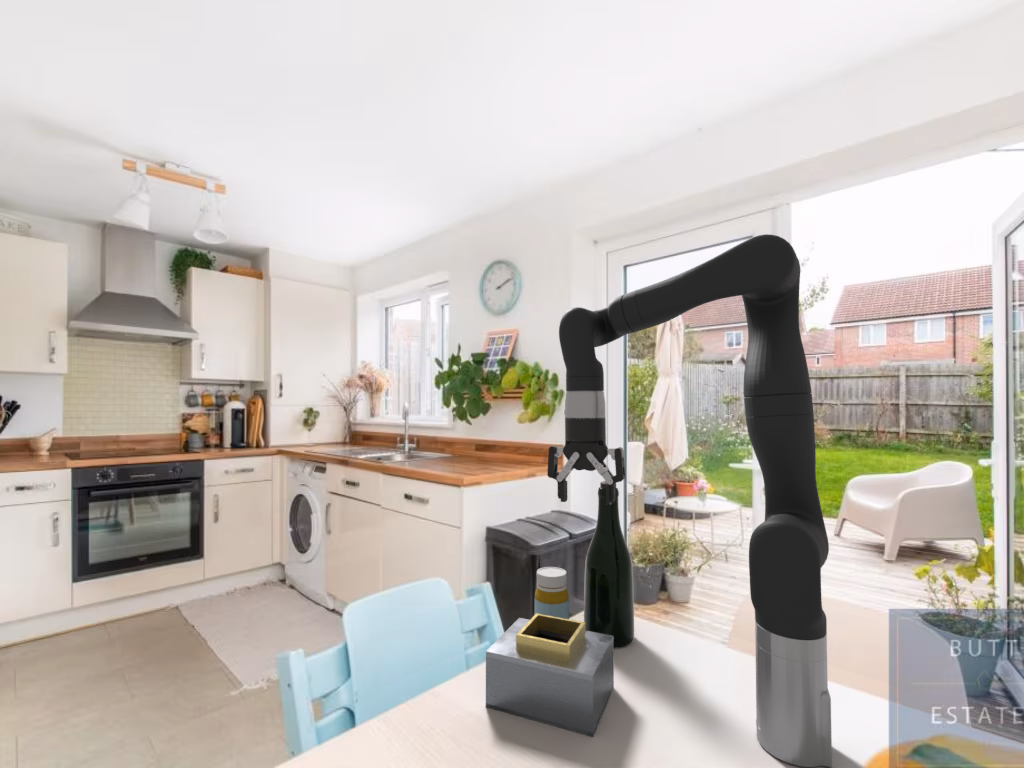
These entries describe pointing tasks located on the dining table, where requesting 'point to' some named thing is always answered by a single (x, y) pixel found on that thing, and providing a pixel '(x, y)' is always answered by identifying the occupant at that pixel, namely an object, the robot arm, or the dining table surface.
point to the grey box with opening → (551, 673)
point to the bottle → (552, 592)
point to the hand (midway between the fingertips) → (586, 502)
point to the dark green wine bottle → (609, 577)
